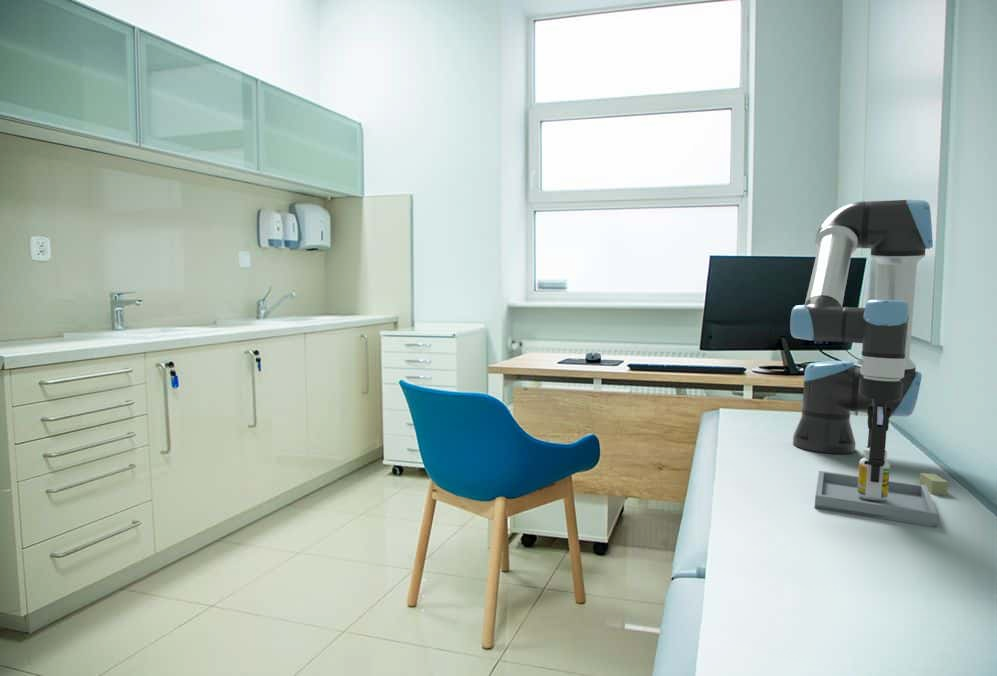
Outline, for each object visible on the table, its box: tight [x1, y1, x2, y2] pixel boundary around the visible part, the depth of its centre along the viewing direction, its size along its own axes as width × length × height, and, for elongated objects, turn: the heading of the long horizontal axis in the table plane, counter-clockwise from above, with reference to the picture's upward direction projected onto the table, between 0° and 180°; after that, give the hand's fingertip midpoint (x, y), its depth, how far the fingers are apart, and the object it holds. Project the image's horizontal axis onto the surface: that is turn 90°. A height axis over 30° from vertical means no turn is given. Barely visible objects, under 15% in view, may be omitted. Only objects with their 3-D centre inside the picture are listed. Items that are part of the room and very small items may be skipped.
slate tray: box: [814, 470, 939, 528], centre depth 135 cm, size 20×20×2 cm
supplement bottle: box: [857, 447, 891, 501], centre depth 134 cm, size 5×5×10 cm
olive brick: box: [918, 472, 949, 495], centre depth 144 cm, size 6×3×3 cm, turn 169°
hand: (872, 492), depth 135 cm, fingers closed on supplement bottle, 5 cm apart
